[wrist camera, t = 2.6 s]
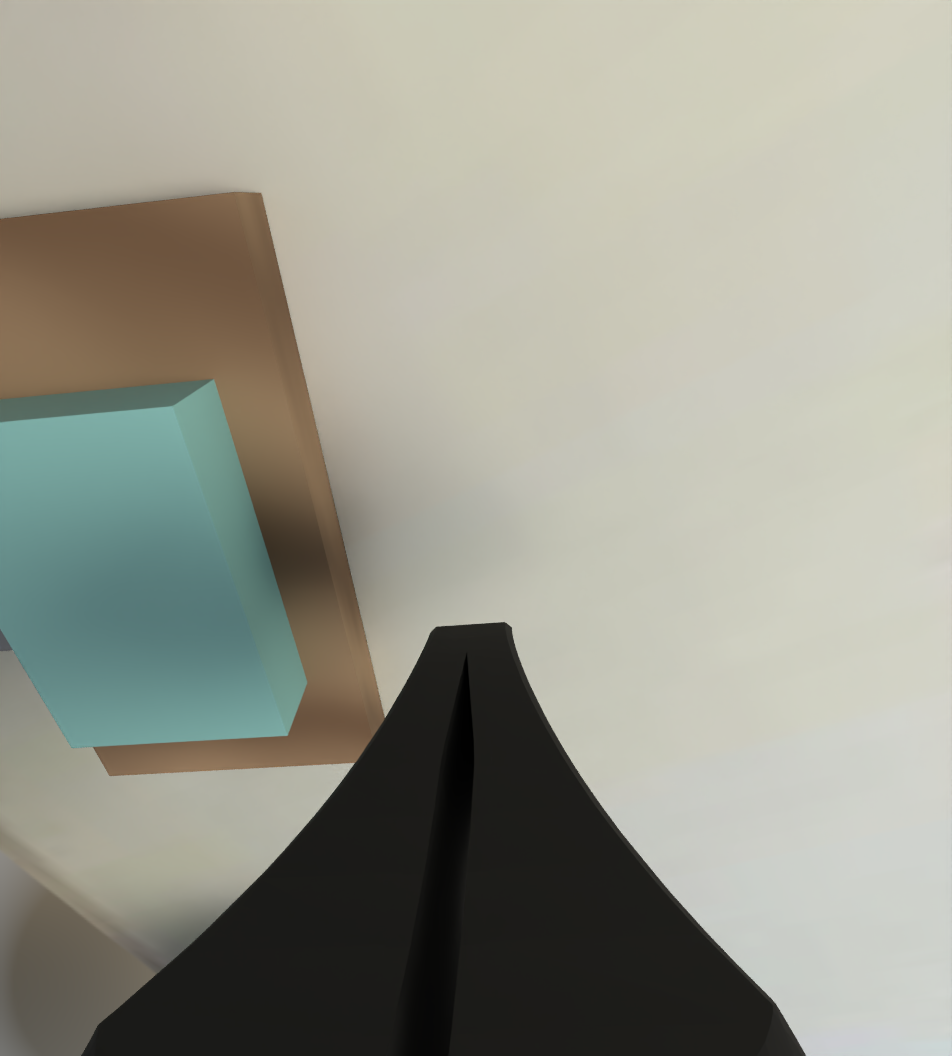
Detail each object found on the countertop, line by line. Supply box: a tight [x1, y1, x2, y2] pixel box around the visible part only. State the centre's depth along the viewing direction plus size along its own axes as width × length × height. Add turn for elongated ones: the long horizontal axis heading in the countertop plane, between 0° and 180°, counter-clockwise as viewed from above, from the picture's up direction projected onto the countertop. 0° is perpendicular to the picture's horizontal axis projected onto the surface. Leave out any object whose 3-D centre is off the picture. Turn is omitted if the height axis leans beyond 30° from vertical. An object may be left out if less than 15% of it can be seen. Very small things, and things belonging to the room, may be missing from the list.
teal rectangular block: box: [0, 379, 307, 748], centre depth 15 cm, size 9×6×2 cm, turn 6°
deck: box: [0, 192, 385, 776], centre depth 16 cm, size 16×9×2 cm, turn 6°
